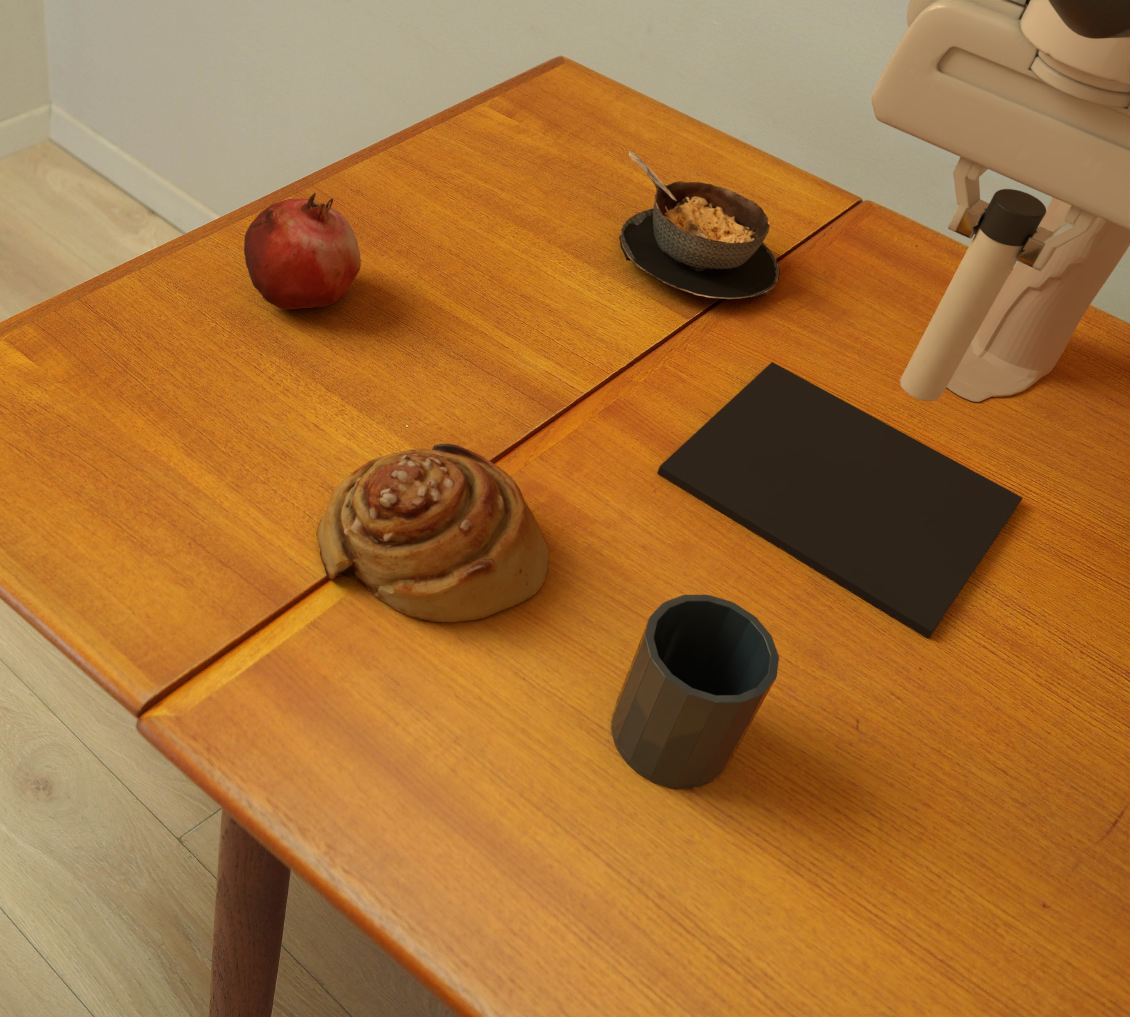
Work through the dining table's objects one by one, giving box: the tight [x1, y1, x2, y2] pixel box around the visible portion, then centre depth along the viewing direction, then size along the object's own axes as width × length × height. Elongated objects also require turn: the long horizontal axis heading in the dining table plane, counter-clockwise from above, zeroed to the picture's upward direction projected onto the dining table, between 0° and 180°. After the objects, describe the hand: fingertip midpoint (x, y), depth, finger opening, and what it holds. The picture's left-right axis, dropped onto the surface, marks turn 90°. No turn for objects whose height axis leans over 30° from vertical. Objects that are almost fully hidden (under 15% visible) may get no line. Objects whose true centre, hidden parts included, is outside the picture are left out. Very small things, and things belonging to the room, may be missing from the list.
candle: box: [946, 197, 1130, 403], centre depth 94 cm, size 7×14×20 cm, turn 131°
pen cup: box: [610, 594, 780, 790], centre depth 67 cm, size 7×7×9 cm
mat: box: [656, 361, 1023, 639], centre depth 87 cm, size 22×18×1 cm
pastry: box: [315, 443, 549, 623], centre depth 75 cm, size 13×15×8 cm
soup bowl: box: [618, 150, 781, 300], centre depth 104 cm, size 15×16×7 cm
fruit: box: [243, 192, 362, 310], centre depth 92 cm, size 9×10×10 cm
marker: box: [899, 188, 1047, 402], centre depth 71 cm, size 3×3×14 cm
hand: (997, 247), depth 68 cm, fingers closed on marker, 3 cm apart
